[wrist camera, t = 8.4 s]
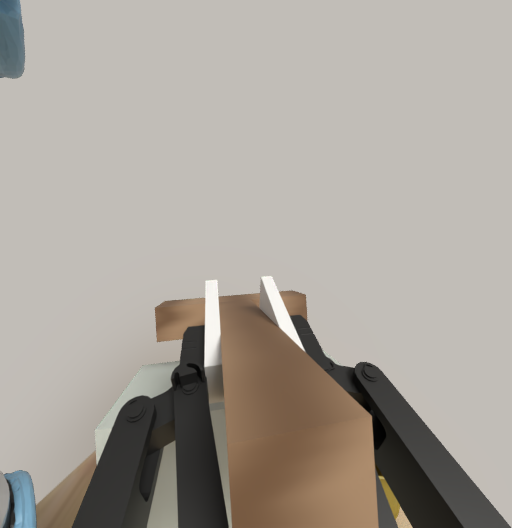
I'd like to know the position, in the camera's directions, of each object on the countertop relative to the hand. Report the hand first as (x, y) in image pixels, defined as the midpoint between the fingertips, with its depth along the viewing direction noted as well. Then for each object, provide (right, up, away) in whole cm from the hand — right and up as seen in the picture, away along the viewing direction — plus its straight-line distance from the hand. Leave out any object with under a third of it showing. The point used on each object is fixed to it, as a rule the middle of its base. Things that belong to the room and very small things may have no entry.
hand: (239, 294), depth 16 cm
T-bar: (0, -4, -1) cm, 4 cm away
